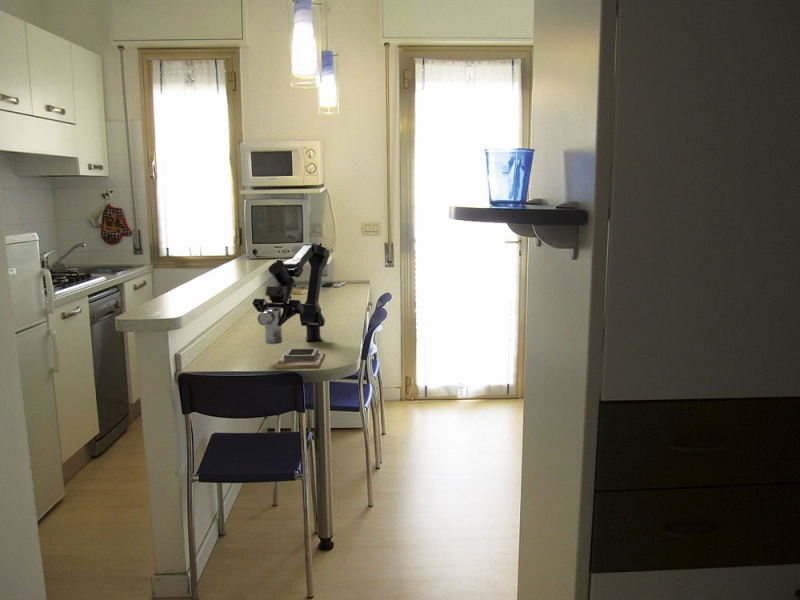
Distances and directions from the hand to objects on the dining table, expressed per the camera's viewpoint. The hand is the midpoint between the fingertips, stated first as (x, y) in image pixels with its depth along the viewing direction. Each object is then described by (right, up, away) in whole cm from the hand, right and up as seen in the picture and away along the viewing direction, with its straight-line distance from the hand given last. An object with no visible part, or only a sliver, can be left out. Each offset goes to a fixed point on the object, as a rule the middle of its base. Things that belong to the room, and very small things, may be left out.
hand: (271, 325), depth 231 cm
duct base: (+10, -13, +2) cm, 17 cm away
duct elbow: (0, -7, +1) cm, 7 cm away
